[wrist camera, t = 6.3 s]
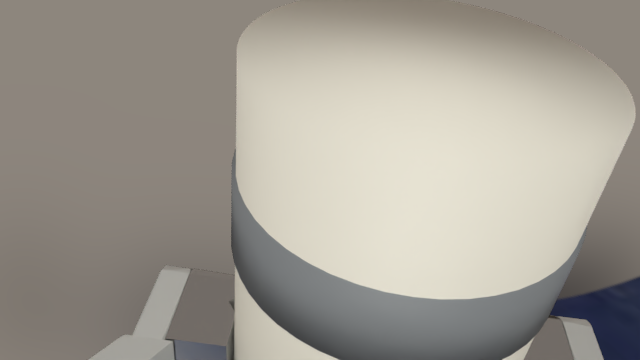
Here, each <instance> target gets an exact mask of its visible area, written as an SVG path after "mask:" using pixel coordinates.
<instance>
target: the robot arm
mask: <svg viewBox="0 0 640 360" xmlns="http://www.w3.org/2000/svg"><path fill="white" fill-rule="evenodd" d="M234 314H235V275H231V274H225V273H219V272H213V271H206V270H200V269H190V268H184V267H177V266H171V265H165V267H164V268H163V269H162V270H161V271H160V273H159V276H158V278H157V280H156V282H155V285H154V287H153V289H152V291H151V293H150V296H149V298H148V300H147V303H146V305H145V307H144V310H143V312H142V314H141V316H140V318H139V320H138V323H137V325H136V327H135V329H134V332H133V334H132V335H125V334H124V335H122V336H121V337H119V338H118V339H116V340H115V341H114V342H112V343H111V344H109V345H108V346H107V347H105V348H103V349H102V350H101V351H99V352H98V353H96V354H95V355H93V356H92V357H91V358H89V359H88V360H234ZM524 360H604V359H603V356H602V353H601V351H600V348H599V345H598V343H597V340H596V337H595V334H594V332H593V329H592V326H591V324H590V323H589V322H588V321H587V320H583V319H575V318H567V317H559V316H558V317H555V316H552V315H549V317H548V319H547V320H546V322H545V323H544V325H543V326H542V328H541V330H540V331H539V332H538V333H537V334H536V335H535V337H534V339H533V341H532V343H531V345H530V347H529V350H528V352H527V354H526V356H525V358H524Z"/></svg>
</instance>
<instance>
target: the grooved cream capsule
mask: <svg viewBox="0 0 640 360" xmlns="http://www.w3.org/2000/svg"><path fill="white" fill-rule="evenodd" d="M236 93H237V94H236V99H237V100H236V149H235V153H234V157H233V160H232V227H231V229H232V230H231V233H232V234H231V236H232V237H231V240H232V241H231V247H232V253H233V258H234V263H235V314H234V360H524V358H525V356H526V354H527V352H528V350H529V347H530V345H531V343H532V341H533V339H534V337H535V335H536V334H537V333H538V332H539V331H540V330H541V328H542V326H543V325H544V323H545V322H546V320H547V319H548V317H549V315H550V313H551V311H552V309H553V306H554V304H555V302H556V300H557V298H558V296H559V294H560V292H561V289H562V288H563V285H564V283H565V281H566V279H567V277H568V275H569V273H570V271H571V269H572V267H573V264H574V262H575V260H576V258H577V256H578V254H579V252H580V250H581V247H582V244H583V242H584V239H585V236H586V229H587V224H588V222H589V219H590V217H591V215H592V213H593V211H594V209H595V207H596V205H597V202H598V200H599V198H600V196H601V194H602V192H603V189H604V187H605V185H606V183H607V181H608V179H609V177H610V175H611V173H612V170H613V168H614V166H615V164H616V162H617V159H618V158H619V155H620V153H621V151H622V149H623V147H624V145H625V143H626V140H627V138H628V136H629V134H630V132H631V130H632V127H633V124H634V121H635V104H634V101H633V98H632V95H631V93H630V91H629V90H628V88H627V86H626V85H625V83H624V82H623V81H622V80H621V79H620V77H619V76H618V75H617V74H616V73H615V72H614V71H613V70H612V69H611V68H610V67H609V66H608V65H606V64H605V63H604V62H603V61H602V60H600V59H599V58H597V57H596V56H595V55H593V54H592V53H591V52H589V51H587V50H586V49H584V48H582V47H581V46H579V45H577V44H576V43H574V42H572V41H570V40H568V39H566V38H564V37H562V36H561V35H558V34H556V33H554V32H552V31H550V30H547V29H545V28H543V27H540V26H538V25H535V24H533V23H530V22H527V21H525V20H522V19H519V18H516V17H513V16H510V15H507V14H504V13H500V12H497V11H493V10H490V9H486V8H482V7H478V6H474V5H469V4H465V3H460V2H455V1H449V0H300V1H295V2H292V3H289V4H286V5H283V6H280V7H277V8H275V9H273V10H271V11H268V12H266V13H265V14H263V15H262V16H260V17H258V18H257V19H255V20H254V21H253V22H252V23H251V24H250V25H249V26H247V28H246V29H245V30H244V32H243V33H242V35H241V36H240V39H239V42H238V45H237V88H236Z"/></svg>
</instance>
